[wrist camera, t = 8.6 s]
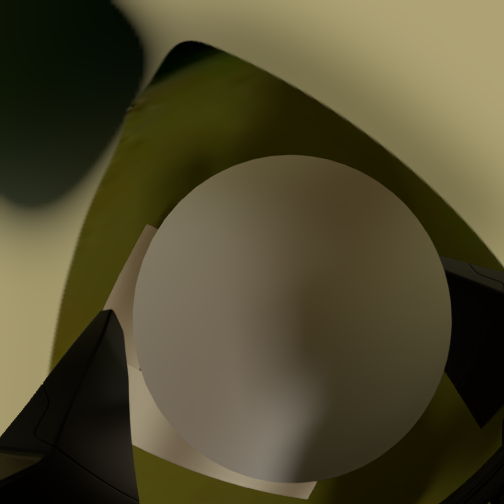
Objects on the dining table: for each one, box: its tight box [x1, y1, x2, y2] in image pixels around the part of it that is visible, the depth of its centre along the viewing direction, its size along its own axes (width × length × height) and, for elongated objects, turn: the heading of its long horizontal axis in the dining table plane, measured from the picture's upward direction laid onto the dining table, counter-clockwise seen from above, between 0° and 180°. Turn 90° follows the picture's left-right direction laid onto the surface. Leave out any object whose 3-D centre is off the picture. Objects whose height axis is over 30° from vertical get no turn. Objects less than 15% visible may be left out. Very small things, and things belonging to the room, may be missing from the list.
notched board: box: [103, 224, 317, 499], centre depth 14 cm, size 14×11×2 cm
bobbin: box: [133, 155, 452, 483], centre depth 10 cm, size 6×6×13 cm
